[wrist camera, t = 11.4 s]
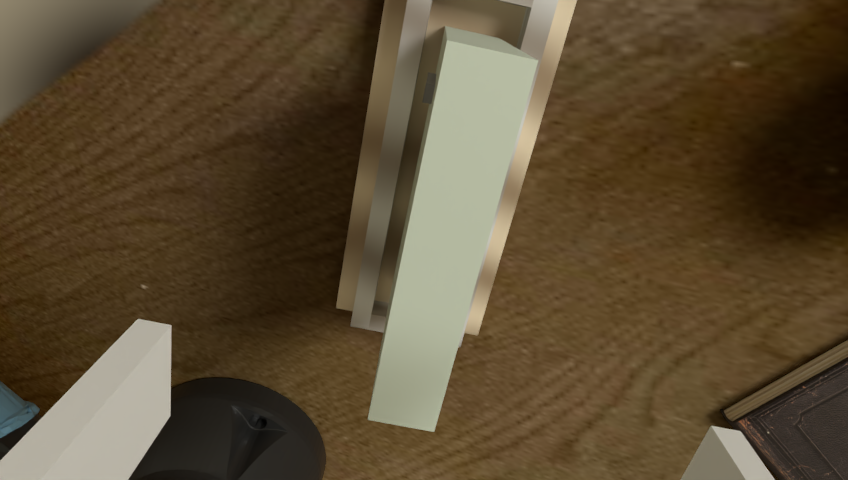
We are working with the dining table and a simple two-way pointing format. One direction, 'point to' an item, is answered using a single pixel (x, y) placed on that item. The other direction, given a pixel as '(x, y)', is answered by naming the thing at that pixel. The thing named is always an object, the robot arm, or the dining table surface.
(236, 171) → the dining table surface
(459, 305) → the door panel
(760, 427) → the hardcover book
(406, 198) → the door track
